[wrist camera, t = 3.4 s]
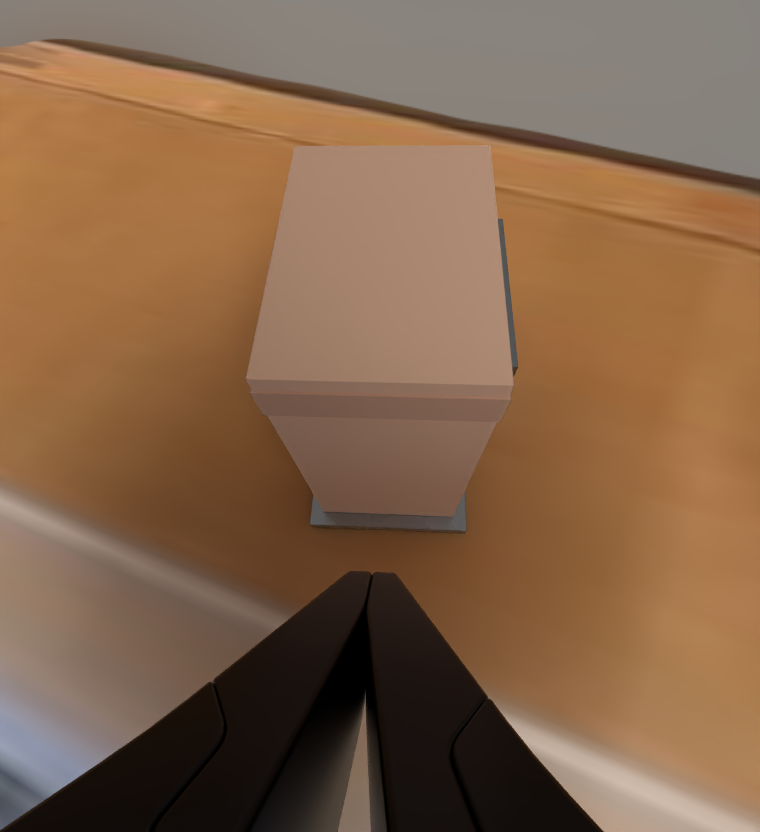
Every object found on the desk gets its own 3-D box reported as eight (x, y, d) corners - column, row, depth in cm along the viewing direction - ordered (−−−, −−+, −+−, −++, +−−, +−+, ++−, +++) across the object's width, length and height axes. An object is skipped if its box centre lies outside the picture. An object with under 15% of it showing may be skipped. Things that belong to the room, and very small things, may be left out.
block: (454, 518, 17) (516, 388, 8) (322, 512, 17) (242, 381, 8) (450, 362, 20) (492, 144, 11) (338, 359, 20) (293, 144, 12)
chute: (496, 534, 17) (531, 499, 13) (280, 525, 18) (241, 488, 13) (481, 302, 22) (502, 218, 18) (313, 300, 23) (293, 217, 18)
